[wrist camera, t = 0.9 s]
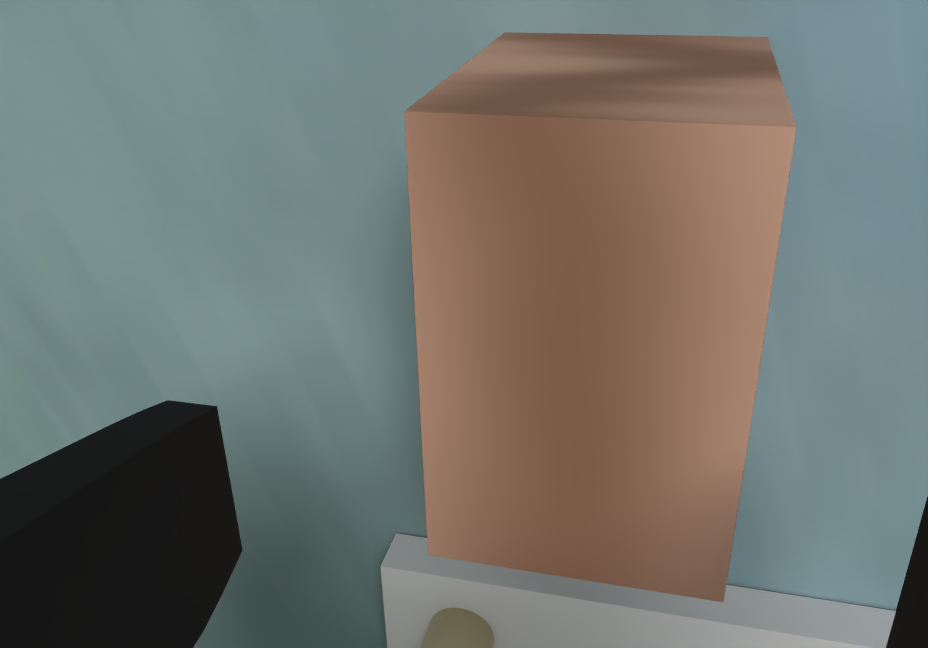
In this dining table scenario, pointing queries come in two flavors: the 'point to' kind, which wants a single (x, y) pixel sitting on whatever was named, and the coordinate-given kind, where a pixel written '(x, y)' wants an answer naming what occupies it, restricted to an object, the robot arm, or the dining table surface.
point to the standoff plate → (597, 611)
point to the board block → (595, 299)
